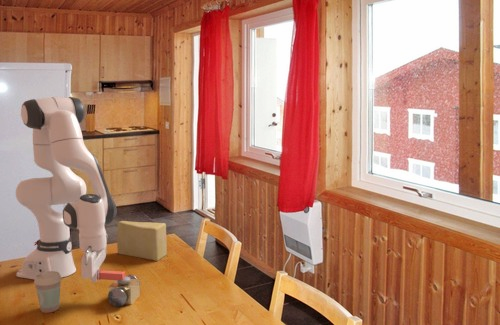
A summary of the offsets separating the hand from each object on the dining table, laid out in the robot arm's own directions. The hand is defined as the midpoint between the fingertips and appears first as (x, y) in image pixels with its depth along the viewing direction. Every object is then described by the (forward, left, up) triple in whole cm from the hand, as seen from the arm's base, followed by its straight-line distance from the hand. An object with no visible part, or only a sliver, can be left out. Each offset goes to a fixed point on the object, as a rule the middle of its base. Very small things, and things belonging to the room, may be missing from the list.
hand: (95, 280), depth 172 cm
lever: (+4, +4, -2) cm, 6 cm away
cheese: (-3, +48, -8) cm, 49 cm away
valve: (+9, +4, -8) cm, 13 cm away
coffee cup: (-13, -7, -8) cm, 17 cm away
